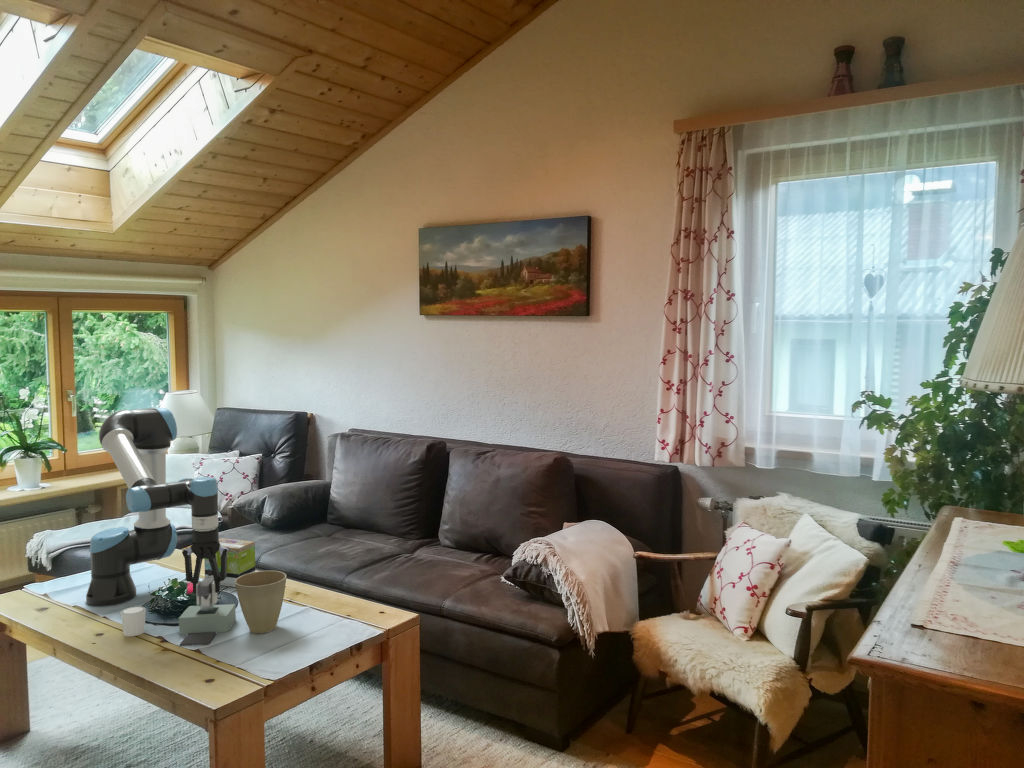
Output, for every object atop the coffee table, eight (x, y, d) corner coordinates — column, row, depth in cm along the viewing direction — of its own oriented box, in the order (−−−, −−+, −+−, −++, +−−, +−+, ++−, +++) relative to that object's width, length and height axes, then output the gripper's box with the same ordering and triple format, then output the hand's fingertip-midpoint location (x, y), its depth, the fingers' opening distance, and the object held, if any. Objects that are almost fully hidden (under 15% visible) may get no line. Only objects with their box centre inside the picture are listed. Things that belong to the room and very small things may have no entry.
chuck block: (179, 634, 225) (178, 617, 225) (189, 621, 235) (189, 606, 234) (227, 631, 226) (226, 615, 226) (235, 619, 236) (235, 604, 236)
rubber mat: (179, 645, 216) (179, 643, 216) (188, 635, 224) (188, 633, 224) (208, 644, 217) (208, 642, 217) (216, 633, 225) (216, 631, 225)
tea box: (203, 584, 270) (202, 544, 269) (222, 576, 280) (221, 537, 279) (239, 588, 266) (238, 547, 265) (256, 579, 275) (255, 540, 275)
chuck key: (205, 614, 235) (204, 576, 234) (218, 613, 235) (217, 576, 235) (196, 625, 226) (195, 586, 225) (210, 624, 226) (209, 586, 226)
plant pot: (261, 617, 239) (260, 567, 238) (297, 624, 232) (296, 574, 231) (225, 633, 225) (223, 581, 224) (262, 642, 219) (261, 588, 218)
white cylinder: (115, 635, 224) (115, 612, 224) (134, 627, 231) (133, 604, 230) (133, 638, 222) (132, 615, 221) (151, 629, 228) (151, 607, 228)
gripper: (172, 532, 224) (174, 608, 226) (230, 530, 226) (232, 606, 228) (180, 525, 231) (182, 599, 233) (237, 524, 233) (238, 597, 235)
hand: (207, 602), depth 230 cm, fingers closed on chuck key, 4 cm apart
